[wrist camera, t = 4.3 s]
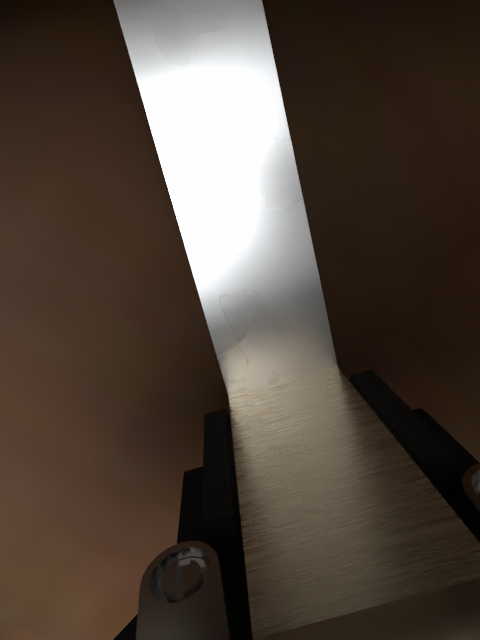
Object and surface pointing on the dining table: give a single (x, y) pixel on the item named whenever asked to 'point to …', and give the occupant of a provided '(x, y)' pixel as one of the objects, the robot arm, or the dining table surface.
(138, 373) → the dining table surface
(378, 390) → the robot arm
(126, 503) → the dining table surface
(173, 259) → the dining table surface
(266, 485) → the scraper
